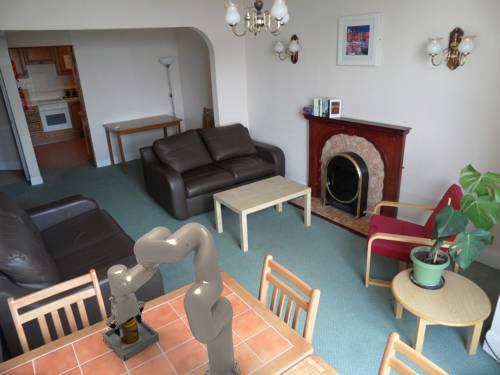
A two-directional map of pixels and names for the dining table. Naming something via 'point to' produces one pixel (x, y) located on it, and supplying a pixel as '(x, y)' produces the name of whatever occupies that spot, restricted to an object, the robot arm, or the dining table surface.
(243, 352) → the dining table surface
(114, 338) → the tray
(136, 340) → the condiment
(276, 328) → the dining table surface
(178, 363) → the dining table surface
